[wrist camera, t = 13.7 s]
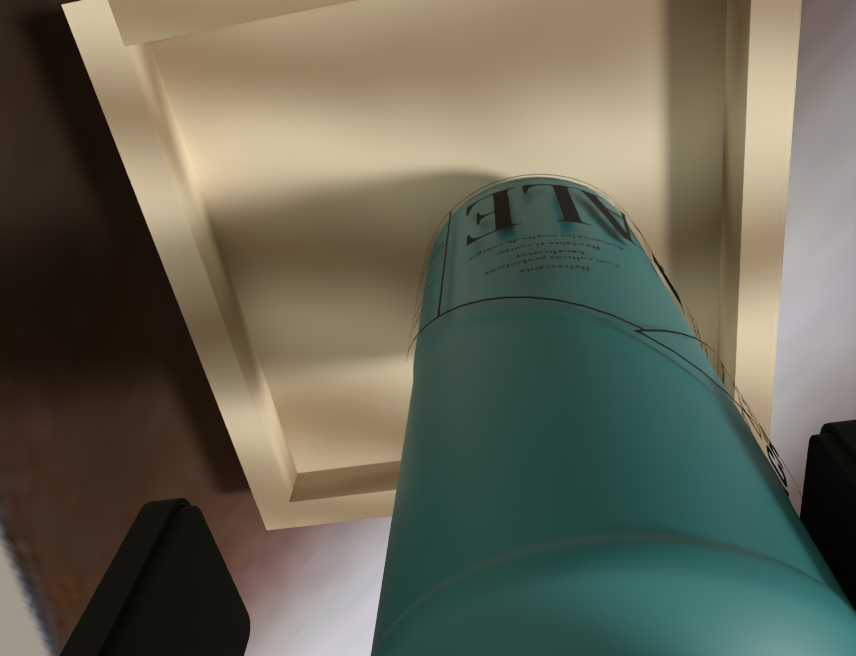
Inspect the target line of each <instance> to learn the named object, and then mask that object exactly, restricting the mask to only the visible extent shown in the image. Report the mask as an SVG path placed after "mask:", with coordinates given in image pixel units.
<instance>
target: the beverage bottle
mask: <svg viewBox="0 0 856 656" xmlns="http://www.w3.org/2000/svg"><path fill="white" fill-rule="evenodd" d="M529 175H550V174H529ZM521 176H525V175H521ZM555 176H559V175H555ZM515 177H519V176H515ZM561 177H565V176H561ZM510 178H514V177H510ZM566 178H570V177H566ZM506 179H509V178H506ZM572 179H573V178H572ZM503 180H505V179H503ZM575 180H576V179H575ZM500 181H502V180H500ZM578 181H579V180H578ZM497 182H499V181H497ZM581 182H583V181H581ZM494 183H496V182H494ZM584 183H585V182H584ZM491 184H493V183H491ZM491 184H489V185H491ZM586 184H588V183H586ZM489 185H487V186H489ZM588 185H590V184H588ZM591 186H592V185H591ZM485 187H486V186H485ZM593 187H594V186H593ZM483 188H484V187H483ZM595 188H596V187H595ZM480 189H482V188H480ZM480 189H479V190H480ZM597 189H598V188H597ZM599 190H600V189H599ZM477 191H478V190H477ZM477 191H475V192H477ZM600 191H601V190H600ZM475 192H474V193H475ZM596 192H597V191H595V192H594V190H593V189H590V188H588V187H587V186H583V185H581V184H577V183H575V182H571V181H568V180H564V179H558V178H553V177H524V178H518V179H513V180H509V181H505V182H502V183H499V184H496V185H493V186H491V187H489V188H487V189H484V190H482V191H481V192H479V193H478V194H476V195H474V196H473V197H471V198H470V199H469V200H467V201H466V202H465V203H463V204H462V205H461V206H460V207H459V208H458V209H457V210H456V211H455V212H454V213H453V214H452V215H451V211H452V210H453V209H454V208H455V207H456V206H457V205H458V204H459V203H458V204H457V205H456V206H455V207H454V208H453V209H452V210H451V211H450V212H449V213H450V215H449V219H448V221H447V222H446V223H445V225H444V226H443V228H442V229H441V231H440V233H439V235H438V236H437V238H436V239H435V241H434V242H435V243H433V244H434V245H433V248H432V250H431V254H429V255H430V258H429V257H426V256H425V257H426V258H429V262H428V265H427V266H428V268H427V267H426V266H425V265H426V264H427V262H425V263H426V264H425V265H424V264H423V265H424V266H425V267H426V268H427V271H426V272H427V275H426V281H425V282H424V284H425V285H424V286H425V288H424V295H422V296H423V299H422V300H423V301H422V300H421V301H422V303H421V304H422V308H421V311H420V310H419V311H420V313H421V315H420V316H418V317H420V322H419V328H418V334H417V335H416V337H417V342H416V349H415V355H414V364H413V385H412V392H411V398H410V405H409V411H408V418H407V424H406V431H405V437H404V444H403V450H402V457H401V463H400V470H399V476H398V483H397V489H396V496H395V502H394V509H393V515H392V522H391V528H390V535H389V541H388V548H387V554H386V561H385V567H384V574H383V580H382V587H381V593H380V600H379V606H378V613H377V619H376V626H375V632H374V639H373V645H372V652H371V656H856V610H855V609H854V608H853V606H852V605H851V603H850V601H849V600H848V598H847V596H846V595H845V593H844V591H843V590H842V588H841V586H840V585H839V583H838V581H837V580H836V578H835V576H834V575H833V573H832V571H831V570H830V568H829V566H828V565H827V563H826V561H825V560H824V556H823V552H822V549H821V553H822V555H821V553H820V551H819V550H818V548H817V546H816V545H815V543H814V541H813V540H812V538H811V536H810V535H809V533H808V531H807V530H806V528H805V526H804V525H803V523H802V521H801V520H800V518H799V516H798V515H797V513H796V511H795V510H794V508H793V506H792V504H791V502H790V500H789V494H788V491H787V490H786V489H785V488H784V486H783V485H782V483H781V481H780V479H779V478H778V476H777V474H776V472H775V471H774V469H773V467H772V466H771V464H770V462H769V461H768V459H767V457H766V456H765V454H764V452H763V451H762V449H761V447H760V446H759V444H758V442H757V440H756V439H755V437H754V435H753V434H752V432H751V429H750V427H749V425H747V424H748V422H747V420H746V422H747V424H746V422H745V420H744V417H745V416H743V415H744V413H743V411H744V412H745V413H746V411H745V409H744V408H743V406H742V404H741V402H740V404H741V406H742V407H741V406H740V405H739V404H738V403H737V402H736V401H735V400H734V399H733V398H732V397H731V396H730V395H729V393H728V391H727V390H726V388H725V386H724V385H723V384H724V370H723V377H722V381H721V380H720V378H719V376H718V375H717V373H716V371H715V369H714V368H713V366H712V364H711V363H710V361H709V359H708V356H706V354H707V352H706V351H707V349H705V350H706V351H705V352H706V354H705V353H704V351H703V347H702V346H701V345H702V344H699V342H698V341H700V340H701V339H698V338H697V336H696V335H697V333H696V332H695V331H696V330H695V329H694V330H695V331H694V332H695V334H696V335H695V336H694V334H693V332H692V330H691V329H690V327H689V325H688V324H687V322H686V320H685V319H684V317H683V315H682V314H681V312H680V310H679V309H678V307H677V305H676V303H675V302H674V300H673V298H672V297H671V295H670V293H669V292H668V290H667V288H666V287H665V285H664V283H663V282H662V280H661V278H660V276H659V275H658V273H657V271H656V270H655V268H654V266H653V263H652V262H651V261H652V259H651V261H650V260H649V258H648V256H647V254H646V253H645V251H644V249H643V248H642V246H641V244H640V243H639V241H638V239H637V238H636V236H635V234H634V232H633V231H632V229H631V228H630V226H629V225H628V223H627V221H626V218H625V216H626V215H625V214H624V213H622V212H621V211H620V210H619V209H618V208H617V209H618V210H619V211H620V212H621V214H620V213H619V211H618V210H617V209H616V207H615V206H613V205H612V204H610V203H609V202H608V201H607V200H606V199H605V198H603V197H602V196H600V195H599V194H601V193H599V192H597V193H599V194H597V193H596ZM602 192H603V191H602ZM603 193H604V192H603ZM472 194H473V193H472ZM472 194H470V195H472ZM605 194H606V193H605ZM470 195H469V196H470ZM601 195H603V194H601ZM606 195H607V194H606ZM467 197H468V196H467ZM467 197H466V198H467ZM604 197H605V196H604ZM609 197H610V196H609ZM466 198H465V199H466ZM606 198H608V197H606ZM608 200H609V199H608ZM613 200H614V199H613ZM462 201H463V200H462ZM462 201H461V202H462ZM614 201H615V200H614ZM461 202H460V203H461ZM615 202H616V201H615ZM615 204H616V203H615ZM616 205H617V204H616ZM617 206H618V205H617ZM620 206H621V205H620ZM618 207H619V206H618ZM621 207H622V206H621ZM619 208H620V207H619ZM622 208H623V207H622ZM622 210H623V209H622ZM623 211H624V210H623ZM624 212H625V211H624ZM449 213H448V214H449ZM448 214H447V215H448ZM626 214H627V213H626ZM447 215H446V216H447ZM629 216H630V215H629ZM626 217H627V216H626ZM630 217H631V216H630ZM444 219H445V218H444ZM444 219H443V220H444ZM631 220H632V219H631ZM631 220H630V221H631ZM631 222H632V221H631ZM441 223H442V222H441ZM441 223H440V224H441ZM632 223H633V222H632ZM634 223H635V222H634ZM634 223H633V224H634ZM634 226H635V225H634ZM438 227H439V226H438ZM438 227H437V228H438ZM635 227H636V226H635ZM636 229H637V230H638V231H639V229H638V228H637V227H636ZM436 230H437V229H436ZM438 231H439V230H438ZM437 233H438V232H436V235H437ZM639 233H640V234H641V232H640V231H639ZM433 235H434V234H433ZM641 235H642V234H641ZM432 237H433V236H432ZM434 238H435V237H434ZM434 238H433V239H434ZM642 238H644V237H643V235H642ZM643 240H645V239H643ZM645 241H646V240H645ZM429 243H430V242H429ZM644 243H645V242H644ZM430 244H432V241H431V243H430ZM647 244H648V243H647ZM430 246H431V245H430ZM645 246H646V245H645ZM647 247H648V246H647ZM427 248H428V247H427ZM430 249H431V248H430ZM648 249H649V248H648ZM428 250H429V248H428ZM646 250H647V249H646ZM429 251H430V250H429ZM648 251H649V250H648ZM650 251H651V250H650ZM652 252H653V251H652ZM652 252H651V253H652ZM425 253H426V252H425ZM647 253H648V252H647ZM649 254H650V253H649ZM426 255H427V254H426ZM654 255H655V254H654ZM654 255H653V253H652V256H653V260H654V263H656V265H657V267H658V268H659V270H660V272H661V273H662V275H663V277H664V278H665V280H666V282H667V283H668V285H669V287H670V288H671V290H672V292H673V293H674V295H675V297H676V298H677V300H678V302H679V303H680V305H681V307H682V304H681V300H680V298H679V296H678V293H677V291H675V289H674V287H673V286H672V284H671V283H670V281H669V279H668V278H667V276H666V274H665V273H664V272H665V271H664V269H663V267H662V266H660V265H661V264H660V265H659V263H658V261H657V260H658V259H657V260H656V258H655V257H654ZM650 257H651V256H650ZM425 260H426V259H425ZM427 260H428V259H427ZM427 260H426V261H427ZM656 265H655V267H656ZM425 267H424V268H425ZM422 269H423V268H422ZM423 270H426V269H423ZM421 271H422V270H421ZM426 272H425V273H426ZM421 273H424V271H423V272H421ZM422 275H425V274H422ZM420 277H422V276H420ZM422 278H424V277H422ZM421 280H422V279H421ZM422 281H423V280H422ZM419 283H421V281H420V282H419ZM420 286H421V285H420ZM419 288H420V287H419ZM419 288H418V291H419ZM422 293H423V292H422ZM417 297H419V296H418V294H417ZM420 297H421V296H420ZM680 297H681V296H680ZM421 298H422V297H421ZM417 300H418V299H417ZM417 300H416V302H417ZM419 300H420V299H419ZM421 301H419V302H421ZM419 302H418V303H419ZM421 304H419V305H421ZM417 305H418V304H417ZM419 307H420V306H418V308H419ZM686 307H687V306H686ZM415 308H417V307H416V306H415ZM687 309H688V308H687ZM417 310H418V309H417ZM682 310H683V307H682ZM686 311H687V310H686ZM416 313H417V312H416ZM418 313H419V312H418ZM683 313H684V311H683ZM414 314H415V312H414ZM687 314H688V313H687ZM689 314H690V312H689ZM417 315H418V314H417ZM415 316H416V314H415ZM418 317H417V318H418ZM690 317H691V316H690ZM692 317H693V316H692ZM688 318H689V317H688ZM414 319H415V318H413V320H414ZM418 320H419V319H418ZM418 320H417V319H416V321H417V322H418ZM691 320H692V318H691ZM693 320H694V318H693ZM413 322H414V321H413ZM417 322H416V323H415V324H417ZM689 322H690V320H689ZM692 322H693V321H692ZM693 323H694V322H693ZM695 325H696V324H695ZM695 325H693V326H694V327H693V328H695ZM412 326H413V324H412ZM414 326H415V325H414ZM690 326H691V325H690ZM696 326H697V325H696ZM414 329H415V327H414ZM697 329H698V328H697ZM411 332H412V330H411ZM697 332H698V334H700V333H699V330H697ZM699 336H700V335H699ZM416 337H415V338H414V340H415V339H416ZM410 338H411V336H410ZM699 338H701V337H699ZM414 340H413V341H414ZM412 343H413V342H412ZM700 343H703V344H704V345H706V346H708V345H707V344H706V343H704V342H702V341H700ZM409 344H410V342H409ZM411 345H412V344H411ZM410 347H411V346H410ZM704 347H705V346H704ZM708 347H709V346H708ZM709 348H710V347H709ZM409 349H410V348H408V350H409ZM710 349H711V348H710ZM711 350H712V349H711ZM712 351H713V350H712ZM408 352H409V351H408ZM713 352H714V351H713ZM714 353H715V352H714ZM715 354H716V353H715ZM707 355H708V354H707ZM716 355H717V354H716ZM407 356H408V354H407ZM719 360H720V359H719ZM406 362H407V360H406ZM720 362H721V361H720ZM721 365H722V369H723V367H724V366H723V364H722V363H721ZM724 369H725V368H724ZM726 372H727V371H726ZM728 375H729V374H728ZM729 376H730V375H729ZM731 380H732V379H731ZM729 381H730V379H729ZM732 382H733V380H732ZM732 382H731V384H732ZM733 384H734V385H733V386H734V388H735V386H736V385H735V383H734V382H733ZM735 389H737V387H736V388H735ZM737 391H739V390H738V389H737V390H736V392H737ZM738 393H739V392H738ZM738 393H737V394H738ZM740 394H741V393H740ZM740 394H739V395H740ZM739 395H738V397H739ZM741 397H742V396H741ZM741 397H740V398H741ZM740 398H739V401H740ZM732 399H733V400H734V402H735V403H736V404H737V405H738V406H739V407H740V408H741V411H742V410H743V411H742V415H741V413H740V412H739V410H738V408H737V407H736V405H735V403H734V402H733V400H732ZM741 399H744V398H741ZM742 401H743V403H744V401H745V400H742ZM744 404H747V403H744ZM747 405H748V404H747ZM747 405H746V407H747ZM748 408H749V406H748ZM748 408H747V409H748ZM749 410H751V409H749ZM749 410H748V411H749ZM749 413H750V414H751V412H749ZM752 413H753V412H752ZM746 414H747V413H746ZM742 416H743V417H742ZM747 416H748V418H749V417H750V416H749V415H748V414H747ZM751 416H752V414H751ZM753 416H754V415H753ZM750 418H751V417H750ZM750 418H749V419H750ZM752 418H753V417H752ZM752 418H751V419H752ZM755 418H756V417H754V419H755ZM745 419H746V418H745ZM751 419H750V421H751ZM752 420H753V419H752ZM753 421H754V420H753ZM755 421H756V420H755ZM751 423H752V421H751ZM754 423H755V422H754ZM758 423H759V422H758ZM752 424H753V423H752ZM755 424H756V425H757V422H756V423H755ZM753 426H754V424H753ZM759 426H760V428H761V425H760V424H759ZM757 427H758V425H757ZM754 428H755V426H754ZM760 428H759V427H758V429H760ZM755 429H756V428H755ZM761 429H762V428H761ZM761 429H760V430H761ZM760 430H759V432H760ZM756 431H757V429H756ZM762 431H763V432H762ZM762 431H761V432H762V434H765V435H763V436H765V437H766V438H767V440H768V441H769V438H768V437H767V436H766V433H764V430H763V429H762ZM757 433H758V431H757ZM758 434H759V433H758ZM759 436H760V438H761V439H762V437H761V433H760V434H759ZM765 437H764V439H765V440H766V438H765ZM767 440H766V442H767ZM767 443H768V442H767ZM769 443H770V445H769ZM769 443H768V445H769V447H770V448H771V450H772V452H773V453H774V451H775V452H776V454H777V451H776V450H775V448H774V446H773V445H772V444H771V442H770V441H769ZM769 447H768V446H767V445H766V448H767V453H768V456H769V459H770V461H771V463H772V464H773V466H774V468H775V470H776V471H777V473H778V475H779V476H780V478H781V480H782V481H783V483H784V485H785V486H786V487H787V482H786V478H785V475H784V472H783V470H784V469H783V470H782V468H783V467H782V468H781V467H780V465H781V466H782V464H781V463H780V461H779V460H778V458H777V456H776V455H775V453H774V455H775V456H776V458H777V460H778V461H779V463H780V465H779V463H778V466H779V469H780V470H781V472H782V474H783V476H784V480H783V478H782V477H781V475H780V473H779V472H778V470H777V468H776V466H775V465H774V463H773V461H772V460H771V458H770V455H769V452H770V453H771V455H772V457H773V459H774V456H773V454H772V452H771V450H770V448H769ZM772 447H773V449H774V451H773V449H772ZM777 455H778V454H777ZM778 457H780V456H778ZM774 460H775V459H774ZM782 462H783V461H782ZM784 465H785V464H784ZM785 467H786V466H785ZM787 470H788V469H787ZM788 472H789V471H788ZM790 475H791V474H790ZM791 477H792V476H791ZM794 482H795V481H794ZM795 484H796V483H795ZM799 493H800V492H799ZM800 495H801V494H800ZM801 497H802V496H801ZM802 499H803V498H802ZM806 508H807V507H806ZM807 510H808V509H807ZM808 512H809V511H808ZM809 516H810V513H809ZM810 518H811V516H810ZM811 521H812V519H811ZM812 524H813V522H812ZM813 527H814V525H813ZM814 530H815V528H814ZM815 533H816V531H815ZM816 536H817V534H816ZM817 539H818V537H817ZM818 542H819V540H818ZM819 545H820V543H819ZM820 548H821V546H820Z"/></svg>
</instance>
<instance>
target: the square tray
mask: <svg viewBox="0 0 856 656" xmlns="http://www.w3.org/2000/svg"><path fill="white" fill-rule="evenodd" d="M801 5H802V0H82V1H77V2H72V3H67V4H62V8H63V10H64V13H65V15H66V18H67V21H68V23H69V26H70V28H71V31H72V33H73V36H74V38H75V41H76V44H77V46H78V49H79V51H80V54H81V56H82V59H83V61H84V64H85V67H86V69H87V72H88V74H89V77H90V79H91V82H92V84H93V87H94V90H95V92H96V95H97V97H98V100H99V102H100V105H101V107H102V110H103V113H104V115H105V118H106V120H107V123H108V125H109V128H110V130H111V133H112V136H113V138H114V141H115V143H116V146H117V148H118V151H119V153H120V156H121V159H122V161H123V164H124V166H125V169H126V171H127V174H128V177H129V179H130V182H131V184H132V187H133V189H134V192H135V194H136V197H137V200H138V202H139V205H140V207H141V210H142V212H143V215H144V217H145V220H146V223H147V225H148V228H149V230H150V233H151V235H152V238H153V240H154V243H155V246H156V248H157V251H158V253H159V256H160V258H161V261H162V263H163V266H164V269H165V271H166V274H167V276H168V279H169V281H170V284H171V286H172V289H173V292H174V294H175V297H176V299H177V302H178V304H179V307H180V309H181V312H182V315H183V317H184V320H185V322H186V325H187V327H188V330H189V332H190V335H191V338H192V340H193V343H194V345H195V348H196V350H197V353H198V355H199V358H200V361H201V363H202V366H203V368H204V371H205V373H206V376H207V378H208V381H209V384H210V386H211V389H212V391H213V394H214V396H215V399H216V402H217V404H218V407H219V409H220V412H221V414H222V417H223V419H224V422H225V425H226V427H227V430H228V432H229V435H230V437H231V440H232V442H233V445H234V448H235V450H236V453H237V455H238V458H239V460H240V463H241V465H242V468H243V471H244V473H245V476H246V478H247V481H248V483H249V486H250V488H251V491H252V494H253V496H254V499H255V501H256V504H257V506H258V509H259V511H260V514H261V517H262V519H263V522H264V524H265V527H266V529H267V530H273V529H282V528H291V527H300V526H308V525H317V524H326V523H334V522H343V521H352V520H361V519H369V518H378V517H387V516H392V515H393V509H394V502H395V496H396V489H397V483H398V476H399V470H400V463H401V457H402V450H403V444H404V437H405V431H406V424H407V418H408V411H409V405H410V398H411V392H412V385H413V364H414V355H415V349H416V342H417V337H416V335H417V334H418V328H419V322H420V317H418V316H420V315H421V313H420V311H421V308H422V304H421V303H422V301H423V300H422V299H423V296H422V295H424V288H425V286H424V285H425V284H424V282H425V281H426V275H427V272H426V271H427V268H428V266H427V265H428V262H429V258H430V255H429V254H431V250H432V248H433V245H434V244H433V243H435V242H434V241H435V239H436V238H437V236H438V235H439V233H440V231H441V229H442V228H443V226H444V225H445V223H446V222H447V221H448V219H449V215H450V213H449V212H450V211H451V210H452V209H453V208H454V207H455V206H456V205H457V204H458V203H459V204H458V205H457V206H456V207H455V208H454V209H453V210H452V211H451V215H452V214H453V213H454V212H455V211H456V210H457V209H458V208H459V207H460V206H461V205H462V204H463V203H465V202H466V201H467V200H469V199H470V198H471V197H473V196H474V195H476V194H478V193H479V192H481V191H482V190H484V189H487V188H489V187H491V186H493V185H496V184H499V183H502V182H505V181H509V180H513V179H518V178H524V177H553V178H558V179H564V180H568V181H571V182H575V183H577V184H581V185H583V186H587V187H588V188H590V189H593V190H594V192H595V191H597V192H599V193H601V194H603V195H601V194H599V193H597V192H596V193H597V194H599V195H600V196H602V197H603V198H605V199H606V200H607V201H608V202H609V203H610V204H612V205H613V206H615V207H616V209H617V208H618V209H619V210H620V211H621V212H622V213H624V214H625V215H626V216H627V217H626V216H625V218H626V221H627V223H628V225H629V226H630V228H631V229H632V231H633V232H634V234H635V236H636V238H637V239H638V241H639V243H640V244H641V246H642V248H643V249H644V251H645V253H646V254H647V256H648V258H649V260H650V261H651V259H652V261H651V262H652V263H653V266H654V268H655V270H656V271H657V273H658V275H659V276H660V278H661V280H662V282H663V283H664V285H665V287H666V288H667V290H668V292H669V293H670V295H671V297H672V298H673V300H674V302H675V303H676V305H677V307H678V309H679V310H680V312H681V314H682V315H683V317H684V319H685V320H686V322H687V324H688V325H689V327H690V329H691V330H692V332H693V334H694V336H695V335H696V334H695V332H696V333H697V335H696V336H697V338H698V339H701V340H700V341H702V342H704V343H706V344H707V345H708V346H709V347H710V348H711V349H712V350H713V351H714V352H715V353H716V354H717V355H716V354H715V353H714V352H713V351H712V350H711V349H710V348H709V347H708V346H706V345H704V344H703V343H700V341H698V342H699V344H702V345H701V346H702V347H703V351H704V353H705V354H706V352H707V354H708V355H707V354H706V356H708V359H709V361H710V363H711V364H712V366H713V368H714V369H715V371H716V373H717V375H718V376H719V378H720V380H721V381H722V377H723V370H724V384H723V385H724V386H725V388H726V390H727V391H728V393H729V395H730V396H731V397H732V398H733V399H734V400H735V401H736V402H737V403H738V404H739V405H740V406H741V404H742V406H743V408H744V409H745V411H746V413H747V414H748V415H749V416H750V417H751V418H752V417H753V418H752V419H753V420H754V421H753V420H752V419H751V418H750V417H749V418H750V419H751V421H752V423H753V424H754V426H755V428H756V429H757V431H758V433H759V434H760V433H761V437H762V439H761V438H760V436H759V434H758V433H757V431H756V429H755V428H754V426H753V424H752V423H751V421H750V419H749V418H748V416H747V414H746V413H745V412H744V411H743V410H742V411H743V413H744V415H743V416H745V417H744V420H745V422H746V420H747V422H748V424H747V422H746V424H747V425H749V427H750V429H751V432H752V434H753V435H754V437H755V439H756V440H757V442H758V444H759V446H760V447H761V449H762V451H763V452H764V454H765V456H766V457H767V459H768V453H767V448H766V445H767V446H768V447H769V445H768V443H769V441H768V440H767V438H766V437H765V436H763V435H765V434H762V432H763V431H762V429H763V430H764V433H766V436H767V437H768V438H769V440H770V427H771V413H772V400H773V386H774V372H775V359H776V345H777V332H778V318H779V304H780V291H781V277H782V264H783V250H784V236H785V223H786V209H787V196H788V182H789V168H790V155H791V141H792V127H793V114H794V100H795V87H796V73H797V59H798V46H799V32H800V19H801ZM529 174H550V175H529ZM521 175H525V176H521ZM555 175H559V176H555ZM515 176H519V177H515ZM561 176H565V177H561ZM510 177H514V178H510ZM566 177H570V178H566ZM506 178H509V179H506ZM572 178H573V179H572ZM503 179H505V180H503ZM575 179H576V180H575ZM500 180H502V181H500ZM578 180H579V181H578ZM497 181H499V182H497ZM581 181H583V182H581ZM494 182H496V183H494ZM584 182H585V183H584ZM491 183H493V184H491ZM586 183H588V184H590V185H588V184H586ZM489 184H491V185H489ZM487 185H489V186H487ZM591 185H592V186H591ZM485 186H486V187H485ZM593 186H594V187H593ZM483 187H484V188H483ZM595 187H596V188H595ZM480 188H482V189H480ZM597 188H598V189H597ZM479 189H480V190H479ZM599 189H600V190H601V191H600V190H599ZM477 190H478V191H477ZM475 191H477V192H475ZM602 191H603V192H604V193H603V192H602ZM474 192H475V193H474ZM472 193H473V194H472ZM605 193H606V194H607V195H606V194H605ZM470 194H472V195H470ZM469 195H470V196H469ZM467 196H468V197H467ZM604 196H605V197H604ZM609 196H610V197H609ZM466 197H467V198H466ZM606 197H608V198H606ZM465 198H466V199H465ZM608 199H609V200H608ZM613 199H614V200H615V201H616V202H615V201H614V200H613ZM462 200H463V201H462ZM461 201H462V202H461ZM460 202H461V203H460ZM615 203H616V204H617V205H618V206H619V207H620V208H619V207H618V206H617V205H616V204H615ZM620 205H621V206H622V207H623V208H622V207H621V206H620ZM618 209H617V210H618ZM622 209H623V210H624V211H625V212H624V211H623V210H622ZM619 210H618V211H619ZM620 211H619V213H620V214H621V212H620ZM448 213H449V214H448ZM626 213H627V214H626ZM447 214H448V215H447ZM446 215H447V216H446ZM629 215H630V216H631V217H630V216H629ZM444 218H445V219H444ZM443 219H444V220H443ZM631 219H632V220H631ZM630 220H631V221H632V222H633V223H634V222H635V223H634V224H633V223H632V222H631V221H630ZM441 222H442V223H441ZM440 223H441V224H440ZM634 225H635V226H636V227H637V228H638V229H639V231H640V232H641V234H642V235H643V237H644V238H642V235H641V234H640V233H639V231H638V230H637V229H636V227H635V226H634ZM438 226H439V227H438ZM437 227H438V228H437ZM436 229H437V230H436ZM438 230H439V231H438ZM436 232H438V233H437V235H436ZM433 234H434V235H433ZM432 236H433V237H432ZM434 237H435V238H434ZM433 238H434V239H433ZM643 239H645V240H646V241H645V240H643ZM431 241H432V244H430V243H431ZM429 242H430V243H429ZM644 242H645V243H644ZM647 243H648V244H647ZM430 245H431V246H430ZM645 245H646V246H645ZM647 246H648V247H647ZM427 247H428V248H429V250H430V251H429V250H428V248H427ZM430 248H431V249H430ZM648 248H649V249H648ZM646 249H647V250H646ZM648 250H649V251H648ZM650 250H651V251H650ZM652 251H653V252H652ZM425 252H426V253H425ZM647 252H648V253H647ZM651 252H652V253H653V255H654V254H655V255H654V257H655V258H656V260H657V259H658V260H657V261H658V263H659V265H660V264H661V265H660V266H662V267H663V269H664V271H665V272H664V273H665V274H666V276H667V278H668V279H669V281H670V283H671V284H672V286H673V287H674V289H675V291H677V293H678V296H679V298H680V300H681V304H682V307H683V310H682V307H681V305H680V303H679V302H678V300H677V298H676V297H675V295H674V293H673V292H672V290H671V288H670V287H669V285H668V283H667V282H666V280H665V278H664V277H663V275H662V273H661V272H660V270H659V268H658V267H657V265H656V263H654V260H653V256H652V253H651ZM649 253H650V254H649ZM426 254H427V255H426ZM425 256H426V257H429V258H426V257H425ZM650 256H651V257H650ZM425 259H426V260H427V259H428V260H427V261H426V260H425ZM425 262H427V264H426V263H425ZM423 264H424V265H425V264H426V265H425V266H426V267H427V268H426V267H425V266H424V265H423ZM655 265H656V267H655ZM424 267H425V268H424ZM422 268H423V269H426V270H423V269H422ZM421 270H422V271H421ZM423 271H424V273H421V272H423ZM425 272H426V273H425ZM422 274H425V275H422ZM420 276H422V277H424V278H422V277H420ZM421 279H422V280H423V281H422V280H421ZM420 281H421V283H419V282H420ZM420 285H421V286H420ZM419 287H420V288H419ZM418 288H419V291H418ZM422 292H423V293H422ZM417 294H418V296H419V297H417ZM420 296H421V297H422V298H421V297H420ZM680 296H681V297H680ZM417 299H418V300H417ZM419 299H420V300H419ZM416 300H417V302H416ZM421 300H422V301H421ZM419 301H421V302H419ZM418 302H419V303H418ZM417 304H418V305H417ZM419 304H421V305H419ZM415 306H416V307H417V308H415ZM418 306H420V307H419V308H418ZM686 306H687V307H686ZM687 308H688V309H687ZM417 309H418V310H417ZM419 310H420V311H419ZM686 310H687V311H686ZM683 311H684V313H683ZM414 312H415V314H416V316H415V314H414ZM416 312H417V313H416ZM418 312H419V313H418ZM689 312H690V314H689ZM687 313H688V314H687ZM417 314H418V315H417ZM690 316H691V317H690ZM692 316H693V317H692ZM417 317H418V318H417ZM688 317H689V318H688ZM413 318H415V319H414V320H413ZM691 318H692V320H691ZM693 318H694V320H693ZM416 319H417V320H418V319H419V320H418V322H417V321H416ZM689 320H690V322H689ZM413 321H414V322H413ZM692 321H693V322H694V323H693V322H692ZM416 322H417V324H415V323H416ZM412 324H413V326H412ZM695 324H696V325H697V326H696V325H695ZM414 325H415V326H414ZM690 325H691V326H690ZM693 325H695V328H693V327H694V326H693ZM414 327H415V329H414ZM697 328H698V329H697ZM694 329H695V330H696V331H695V330H694ZM411 330H412V332H411ZM697 330H699V333H700V334H698V332H697ZM694 331H695V332H694ZM699 335H700V336H699ZM410 336H411V338H410ZM415 337H416V339H415V340H414V338H415ZM699 337H701V338H699ZM413 340H414V341H413ZM409 342H410V344H409ZM412 342H413V343H412ZM411 344H412V345H411ZM410 346H411V347H410ZM704 346H705V347H704ZM408 348H410V349H409V350H408ZM705 349H707V351H706V350H705ZM408 351H409V352H408ZM705 351H706V352H705ZM407 354H408V356H407ZM719 359H720V360H719ZM406 360H407V362H406ZM720 361H721V362H720ZM721 363H722V364H723V366H724V367H723V369H722V365H721ZM724 368H725V369H724ZM726 371H727V372H726ZM728 374H729V375H730V376H729V375H728ZM729 379H730V381H729ZM731 379H732V380H733V382H734V383H735V385H736V386H735V388H736V387H737V389H738V390H739V391H737V392H736V390H737V389H735V388H734V386H733V385H734V384H733V382H732V380H731ZM731 382H732V384H731ZM738 392H739V393H738ZM737 393H738V394H737ZM740 393H741V394H740ZM739 394H740V395H739ZM738 395H739V397H738ZM741 396H742V397H741ZM740 397H741V398H744V399H741V398H740ZM739 398H740V401H739ZM733 399H732V400H733ZM734 400H733V402H734ZM742 400H745V401H744V403H747V404H748V405H747V404H744V403H743V401H742ZM740 402H741V404H740ZM734 403H735V402H734ZM735 405H736V407H737V408H738V410H739V412H740V413H741V415H742V411H741V408H740V407H739V406H738V405H737V404H736V403H735ZM746 405H747V407H746ZM742 406H741V407H742ZM748 406H749V408H748ZM747 408H748V409H747ZM749 409H751V410H749ZM748 410H749V411H748ZM749 412H751V414H752V416H751V414H750V413H749ZM752 412H753V413H752ZM753 415H754V416H753ZM743 416H742V417H743ZM754 417H756V418H755V419H754ZM745 418H746V419H745ZM755 420H756V421H755ZM754 422H755V423H756V422H757V425H758V427H759V428H760V426H759V424H760V425H761V428H762V429H761V428H760V429H761V430H760V429H758V427H757V425H756V424H755V423H754ZM758 422H759V423H758ZM759 430H760V432H759ZM761 431H762V432H761ZM764 437H765V438H766V440H767V442H768V443H767V442H766V440H765V439H764Z"/></svg>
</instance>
